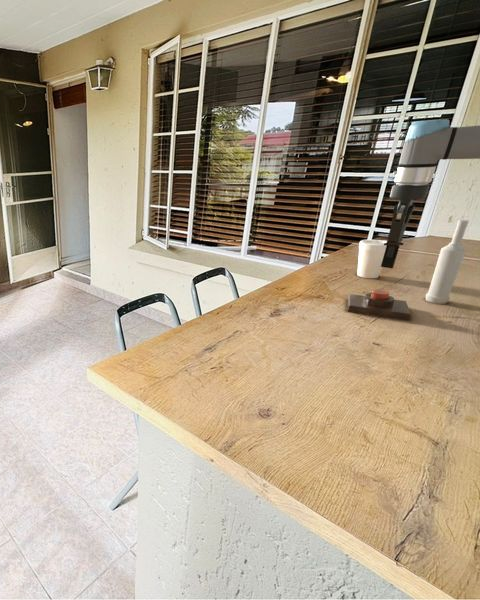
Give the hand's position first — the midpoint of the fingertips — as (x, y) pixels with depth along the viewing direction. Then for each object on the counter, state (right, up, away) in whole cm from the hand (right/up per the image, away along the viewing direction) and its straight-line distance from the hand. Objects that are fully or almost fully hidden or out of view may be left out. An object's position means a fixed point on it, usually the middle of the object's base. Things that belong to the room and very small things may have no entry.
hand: (386, 266), depth 103 cm
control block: (-1, -13, +3) cm, 13 cm away
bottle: (+21, -10, +6) cm, 24 cm away
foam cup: (+19, -1, +30) cm, 36 cm away
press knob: (-1, -9, +2) cm, 10 cm away
